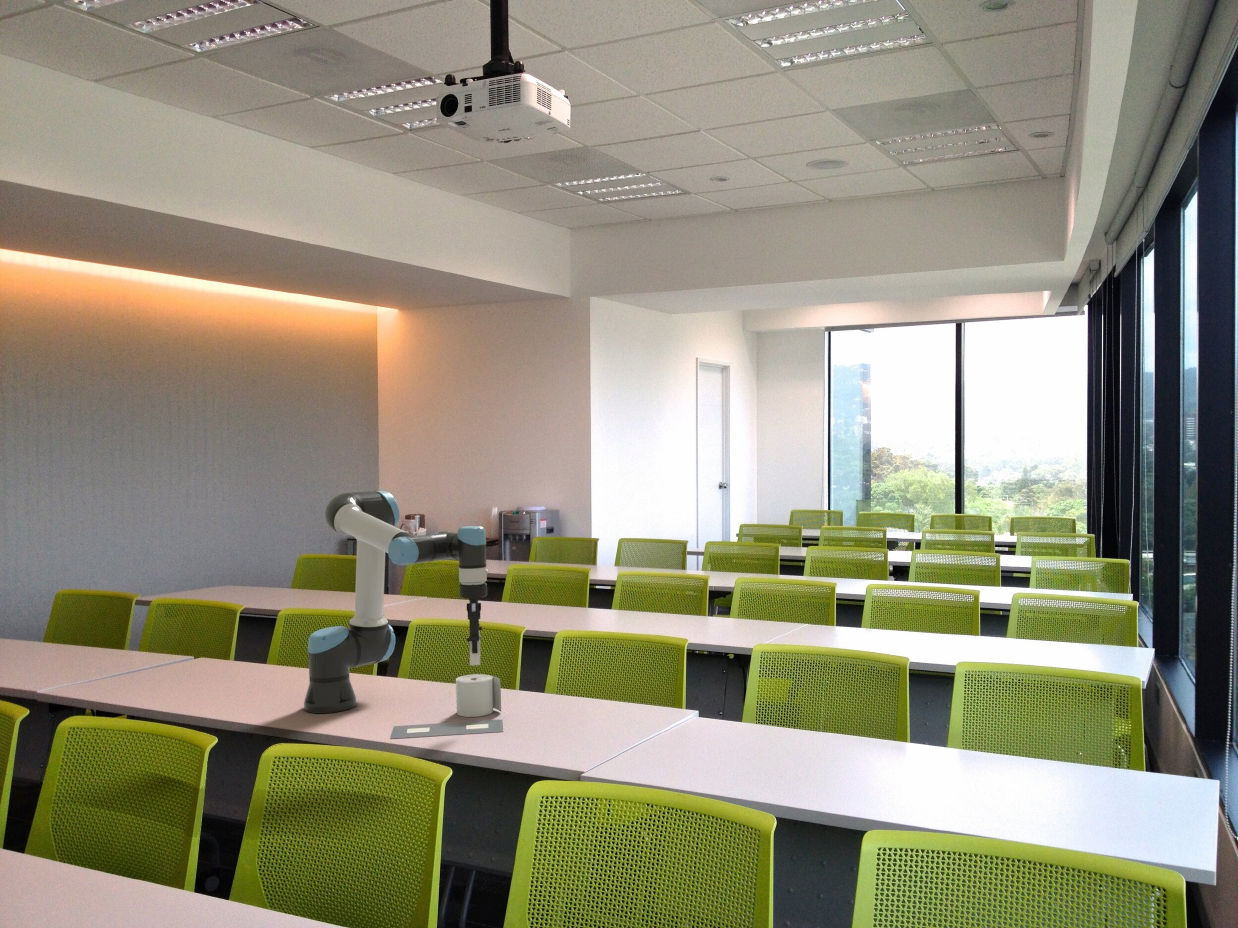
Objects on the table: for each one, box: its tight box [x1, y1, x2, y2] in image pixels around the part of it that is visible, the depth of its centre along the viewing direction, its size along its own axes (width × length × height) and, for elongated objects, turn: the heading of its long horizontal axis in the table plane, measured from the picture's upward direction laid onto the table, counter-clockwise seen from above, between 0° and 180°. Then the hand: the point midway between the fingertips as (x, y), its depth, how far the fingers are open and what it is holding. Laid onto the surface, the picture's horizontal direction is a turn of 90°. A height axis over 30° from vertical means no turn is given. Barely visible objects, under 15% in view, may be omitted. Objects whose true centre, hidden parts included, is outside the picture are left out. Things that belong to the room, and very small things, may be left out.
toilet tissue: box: [455, 673, 502, 718], centre depth 292 cm, size 11×12×10 cm
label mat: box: [389, 719, 504, 740], centre depth 275 cm, size 30×12×1 cm, turn 98°
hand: (475, 659), depth 276 cm, fingers open, 13 cm apart
